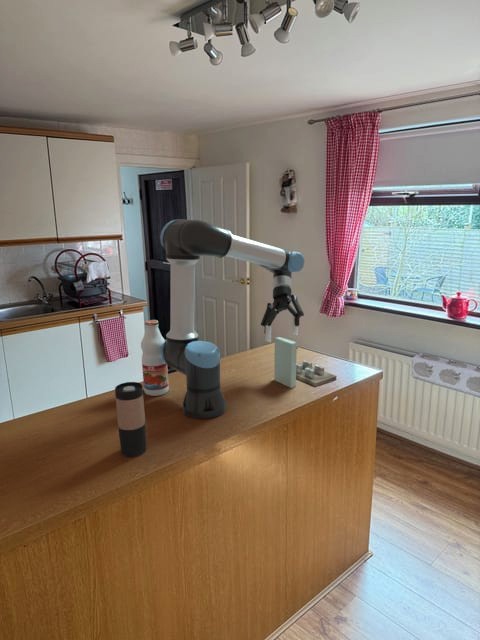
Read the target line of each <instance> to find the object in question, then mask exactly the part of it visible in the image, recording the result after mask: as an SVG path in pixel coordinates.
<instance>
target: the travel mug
mask: <svg viewBox="0 0 480 640" xmlns="http://www.w3.org/2000/svg"><path fill="white" fill-rule="evenodd" d="M143 390H144V388H143V384H142V383H140V382H137V381H127V382H123V383H120V384H117V385H116V386H115V388H114V392H115V393H114V394H115V395H114V396H115V407H116V416H117V417H116V419H117V427H118V428H117V429H118V430H117V431H118V437H119V445H120V452H121V454H122V456H124V457H126V458H135V457H140V456H141V455H143V454H145V452H146V451H147V434H146V433H147V431H146V430H147V429H146V416H145V415H146V414H145V403H144V392H143Z"/></svg>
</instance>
